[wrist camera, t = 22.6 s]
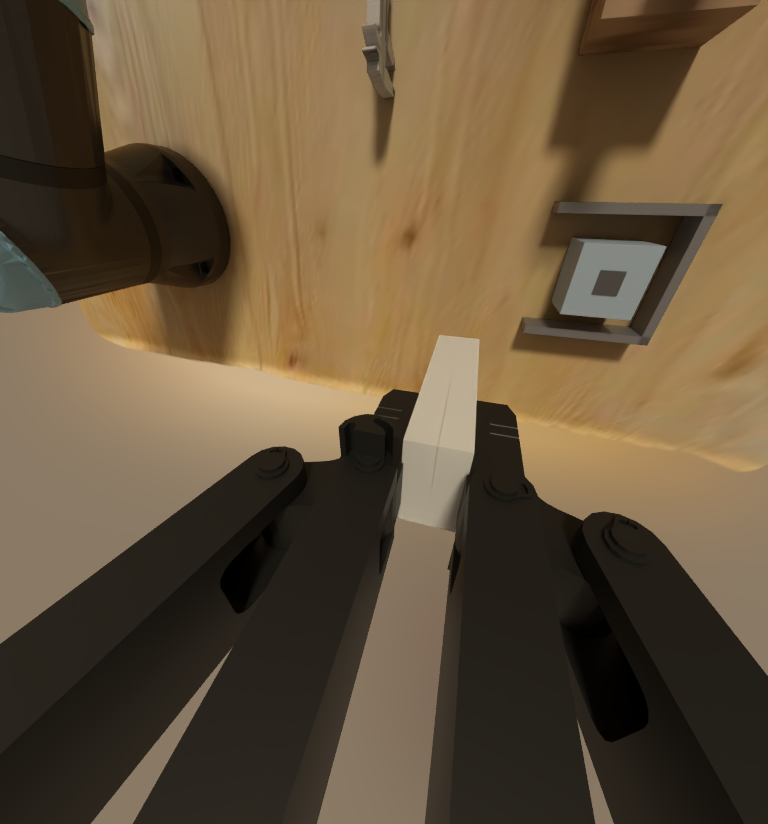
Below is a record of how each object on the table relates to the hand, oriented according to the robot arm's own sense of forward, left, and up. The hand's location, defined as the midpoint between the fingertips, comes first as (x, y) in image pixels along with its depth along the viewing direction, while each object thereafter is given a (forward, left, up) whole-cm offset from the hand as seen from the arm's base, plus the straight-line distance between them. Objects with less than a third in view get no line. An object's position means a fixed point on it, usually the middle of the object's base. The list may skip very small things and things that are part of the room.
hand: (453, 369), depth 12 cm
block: (+12, 0, -26) cm, 29 cm away
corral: (+12, 0, -26) cm, 29 cm away
